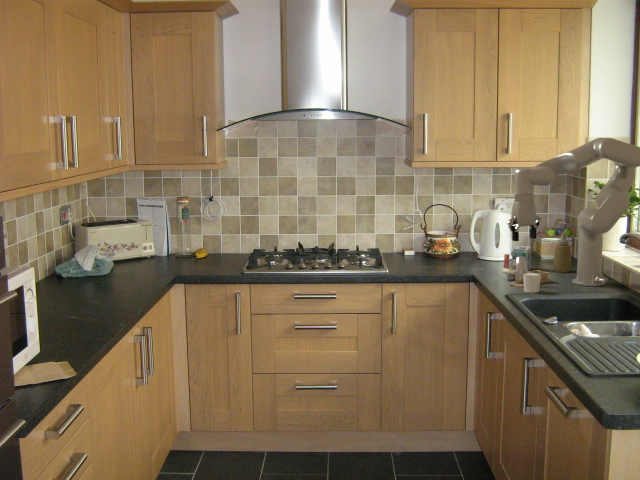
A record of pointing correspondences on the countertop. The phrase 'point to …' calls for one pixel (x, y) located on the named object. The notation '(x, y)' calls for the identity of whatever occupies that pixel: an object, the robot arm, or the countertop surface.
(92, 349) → the countertop surface
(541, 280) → the block
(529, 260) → the light bulb box
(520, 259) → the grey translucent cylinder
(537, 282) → the white cup
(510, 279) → the wheel post
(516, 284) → the coaster
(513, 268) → the crank wheel
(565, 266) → the squeeze bottle
